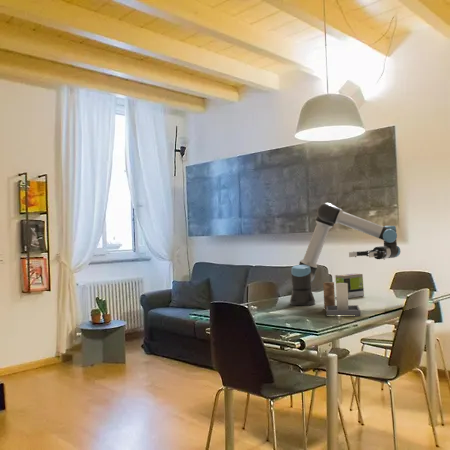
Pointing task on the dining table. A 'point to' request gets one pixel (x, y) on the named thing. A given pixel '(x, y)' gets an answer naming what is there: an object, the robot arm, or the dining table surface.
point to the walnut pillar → (329, 294)
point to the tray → (352, 310)
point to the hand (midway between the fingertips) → (359, 254)
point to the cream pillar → (342, 296)
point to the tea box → (352, 283)
